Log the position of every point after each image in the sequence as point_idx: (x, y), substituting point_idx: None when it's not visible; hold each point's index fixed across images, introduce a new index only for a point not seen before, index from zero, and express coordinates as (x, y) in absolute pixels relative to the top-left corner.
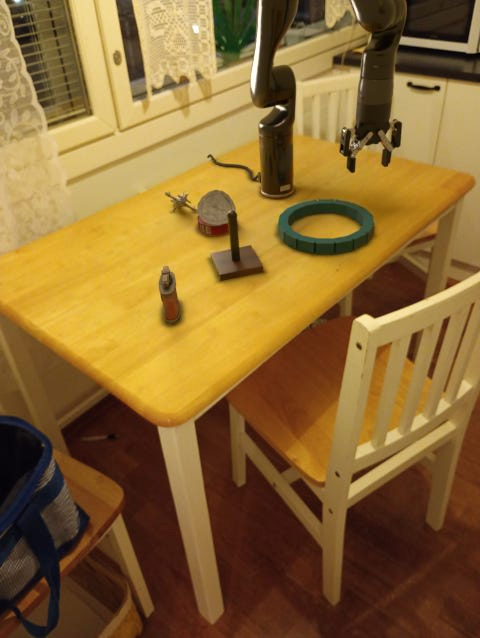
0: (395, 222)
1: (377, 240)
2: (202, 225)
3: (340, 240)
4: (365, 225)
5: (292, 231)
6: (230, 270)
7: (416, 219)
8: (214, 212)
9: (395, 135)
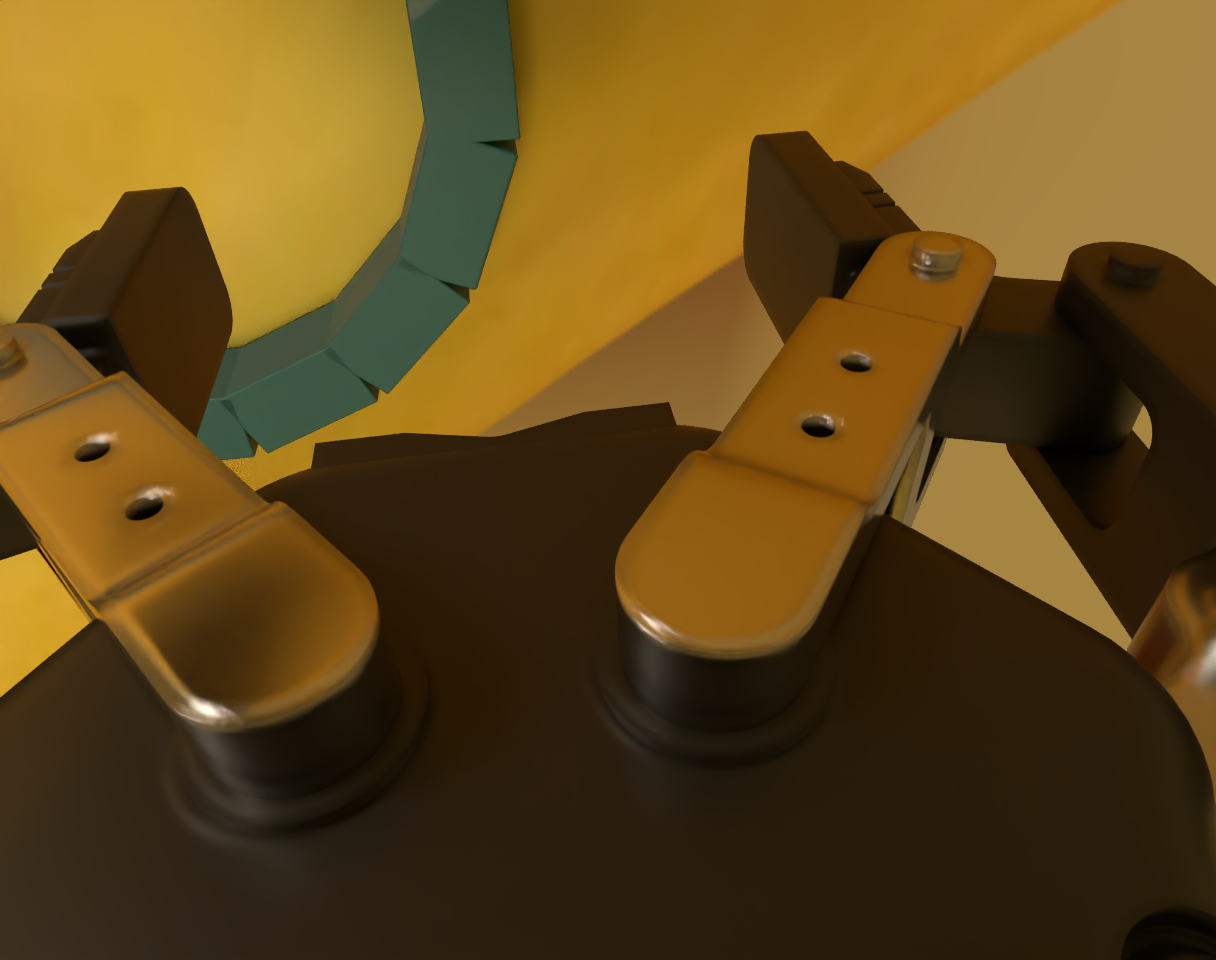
0: (722, 102)
1: (477, 320)
2: None
3: None
4: (397, 296)
5: None
6: None
7: (896, 107)
8: None
9: (1125, 563)
